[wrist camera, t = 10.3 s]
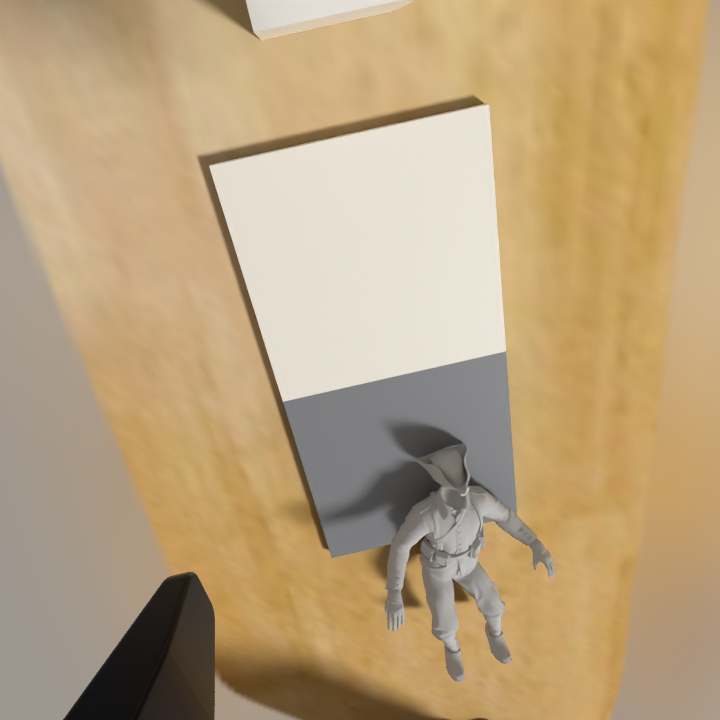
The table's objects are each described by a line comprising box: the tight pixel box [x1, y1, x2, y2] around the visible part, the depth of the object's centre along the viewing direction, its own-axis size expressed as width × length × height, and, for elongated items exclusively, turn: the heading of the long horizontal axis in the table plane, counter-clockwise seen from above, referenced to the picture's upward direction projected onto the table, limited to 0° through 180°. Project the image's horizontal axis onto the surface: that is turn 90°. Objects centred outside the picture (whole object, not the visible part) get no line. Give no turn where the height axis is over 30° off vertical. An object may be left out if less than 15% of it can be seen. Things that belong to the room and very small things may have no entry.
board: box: [209, 104, 517, 558], centre depth 22 cm, size 18×9×1 cm, turn 11°
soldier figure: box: [385, 444, 554, 682], centre depth 25 cm, size 8×5×12 cm
